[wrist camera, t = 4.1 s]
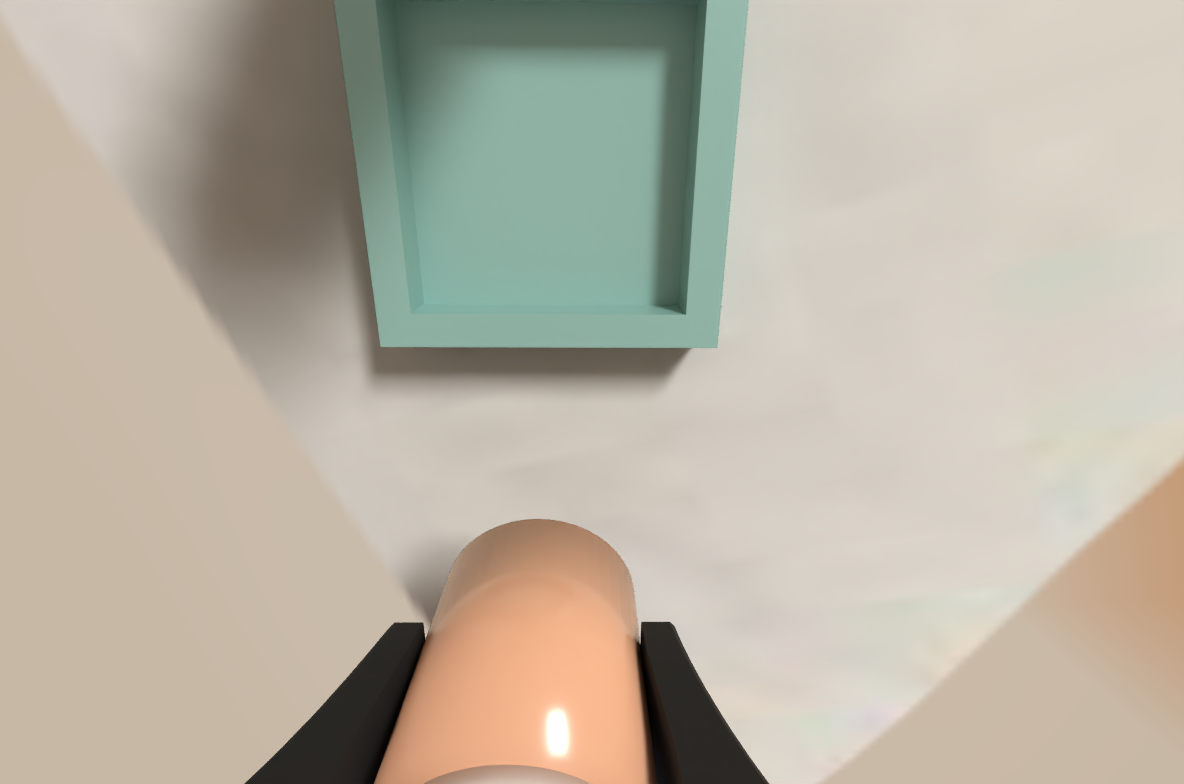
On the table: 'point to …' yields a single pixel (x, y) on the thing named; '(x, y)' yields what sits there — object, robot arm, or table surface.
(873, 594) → the table surface
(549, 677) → the shaker
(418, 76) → the tray
